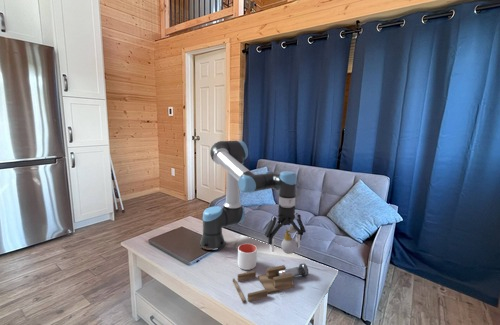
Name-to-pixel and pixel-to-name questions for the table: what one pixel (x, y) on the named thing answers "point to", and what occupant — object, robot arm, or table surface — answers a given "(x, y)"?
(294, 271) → the shaft
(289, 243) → the perfume bottle
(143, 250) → the table surface
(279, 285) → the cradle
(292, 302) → the table surface
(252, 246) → the cup
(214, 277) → the table surface
